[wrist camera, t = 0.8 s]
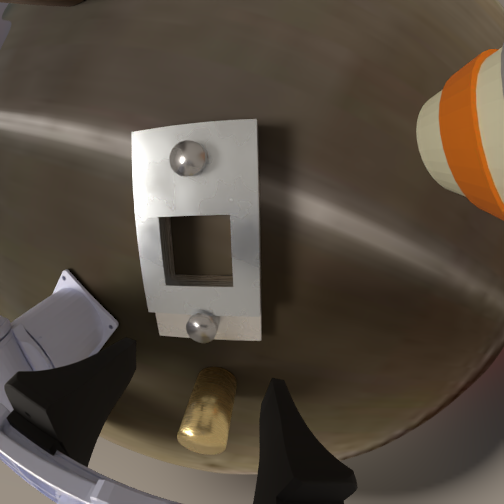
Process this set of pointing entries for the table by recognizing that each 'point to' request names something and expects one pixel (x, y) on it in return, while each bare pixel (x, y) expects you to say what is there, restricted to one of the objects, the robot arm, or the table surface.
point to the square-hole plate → (192, 204)
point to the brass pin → (208, 412)
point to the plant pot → (45, 2)
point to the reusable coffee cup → (468, 132)
